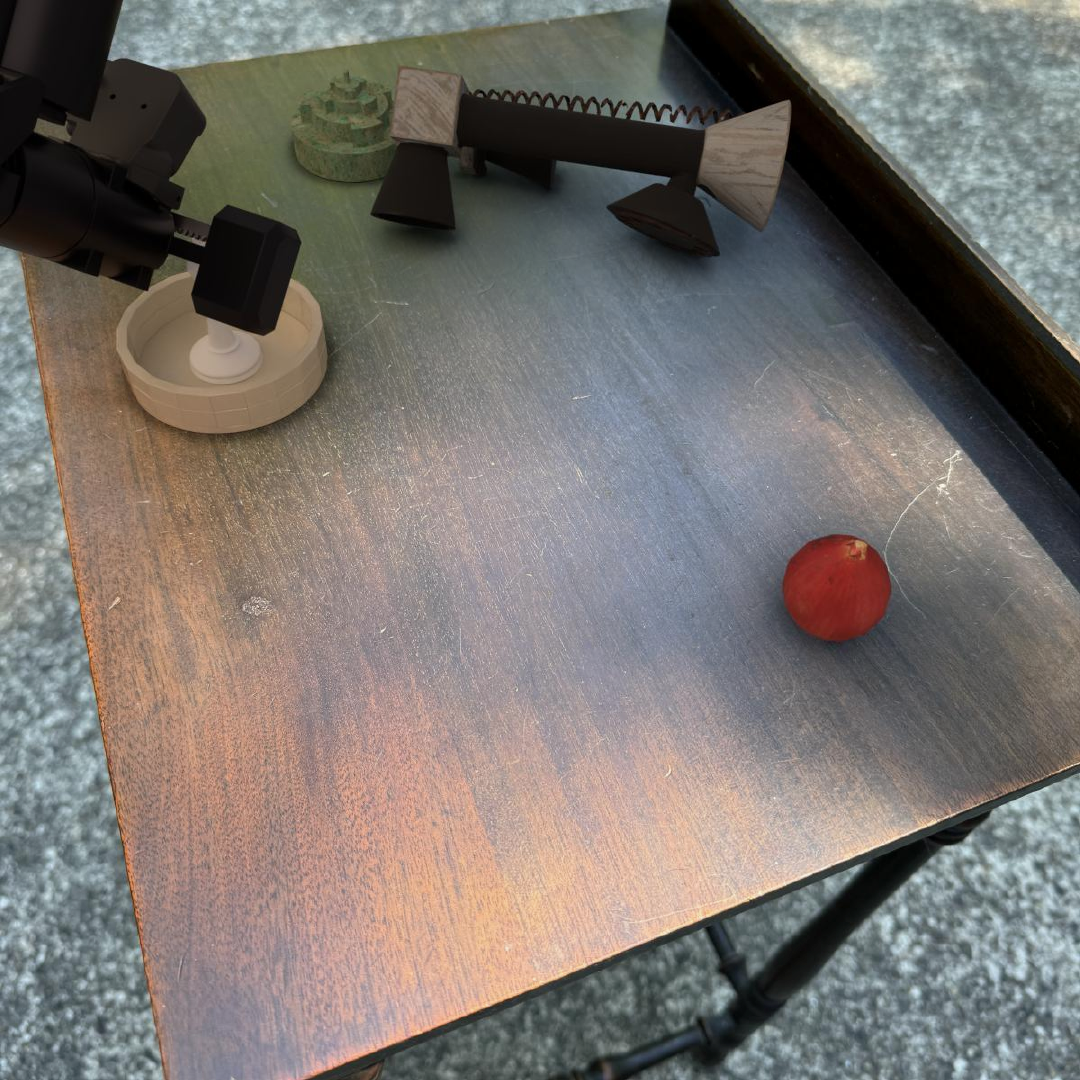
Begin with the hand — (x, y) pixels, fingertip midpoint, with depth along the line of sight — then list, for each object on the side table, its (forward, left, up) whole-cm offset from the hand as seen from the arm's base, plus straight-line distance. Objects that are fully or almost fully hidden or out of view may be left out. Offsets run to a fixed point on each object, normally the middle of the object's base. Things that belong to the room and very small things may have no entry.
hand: (221, 264), depth 66 cm
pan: (-1, -1, -7) cm, 8 cm away
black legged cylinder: (+27, +11, -8) cm, 30 cm away
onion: (+31, -30, -8) cm, 44 cm away
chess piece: (-1, -1, -7) cm, 7 cm away
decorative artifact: (+11, +25, -8) cm, 28 cm away
